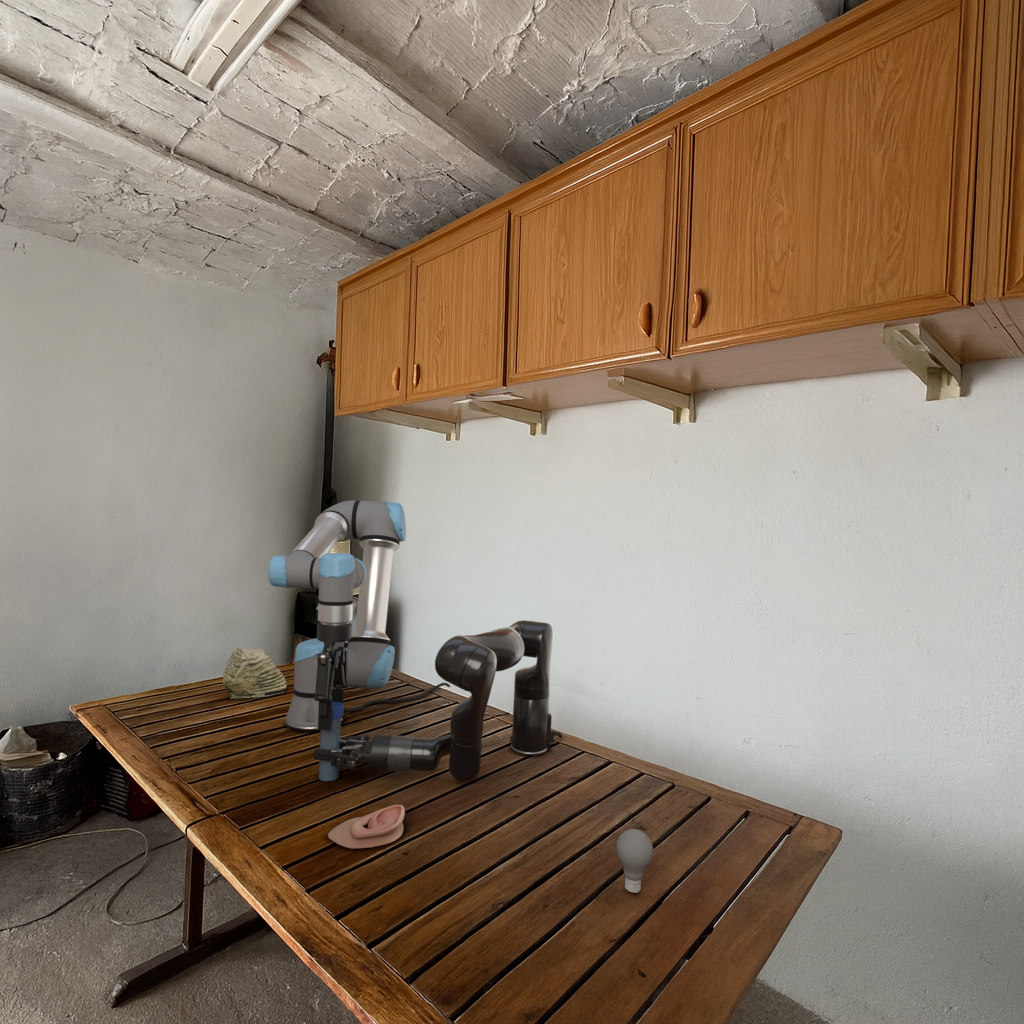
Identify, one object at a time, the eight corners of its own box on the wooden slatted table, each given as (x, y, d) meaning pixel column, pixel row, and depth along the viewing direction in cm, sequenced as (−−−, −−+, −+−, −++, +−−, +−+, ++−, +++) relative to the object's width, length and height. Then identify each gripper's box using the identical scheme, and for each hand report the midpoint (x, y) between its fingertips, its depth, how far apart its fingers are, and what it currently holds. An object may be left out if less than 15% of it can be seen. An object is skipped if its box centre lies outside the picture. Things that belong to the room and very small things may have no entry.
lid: (347, 716, 143) (347, 706, 143) (325, 720, 139) (325, 710, 139) (336, 709, 147) (336, 700, 147) (314, 714, 143) (315, 704, 143)
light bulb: (610, 879, 108) (613, 822, 108) (644, 879, 109) (647, 822, 109) (619, 902, 102) (622, 840, 102) (655, 901, 103) (658, 840, 103)
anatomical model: (320, 822, 115) (348, 794, 127) (319, 843, 116) (348, 813, 127) (388, 833, 113) (411, 803, 124) (387, 855, 113) (410, 823, 124)
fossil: (218, 695, 195) (220, 647, 195) (278, 685, 208) (279, 640, 207) (228, 703, 189) (230, 653, 188) (289, 692, 201) (290, 645, 201)
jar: (342, 777, 143) (345, 708, 143) (324, 783, 140) (326, 711, 140) (333, 771, 146) (336, 703, 146) (315, 776, 143) (317, 706, 143)
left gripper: (334, 613, 153) (330, 707, 153) (300, 630, 133) (296, 738, 133) (364, 615, 152) (360, 710, 153) (335, 632, 132) (331, 741, 133)
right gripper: (399, 725, 150) (327, 722, 150) (387, 749, 136) (307, 745, 136) (398, 756, 150) (326, 753, 150) (385, 783, 136) (306, 780, 136)
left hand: (330, 723), depth 143 cm, fingers open, 7 cm apart
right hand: (318, 749), depth 143 cm, fingers closed on jar, 4 cm apart
